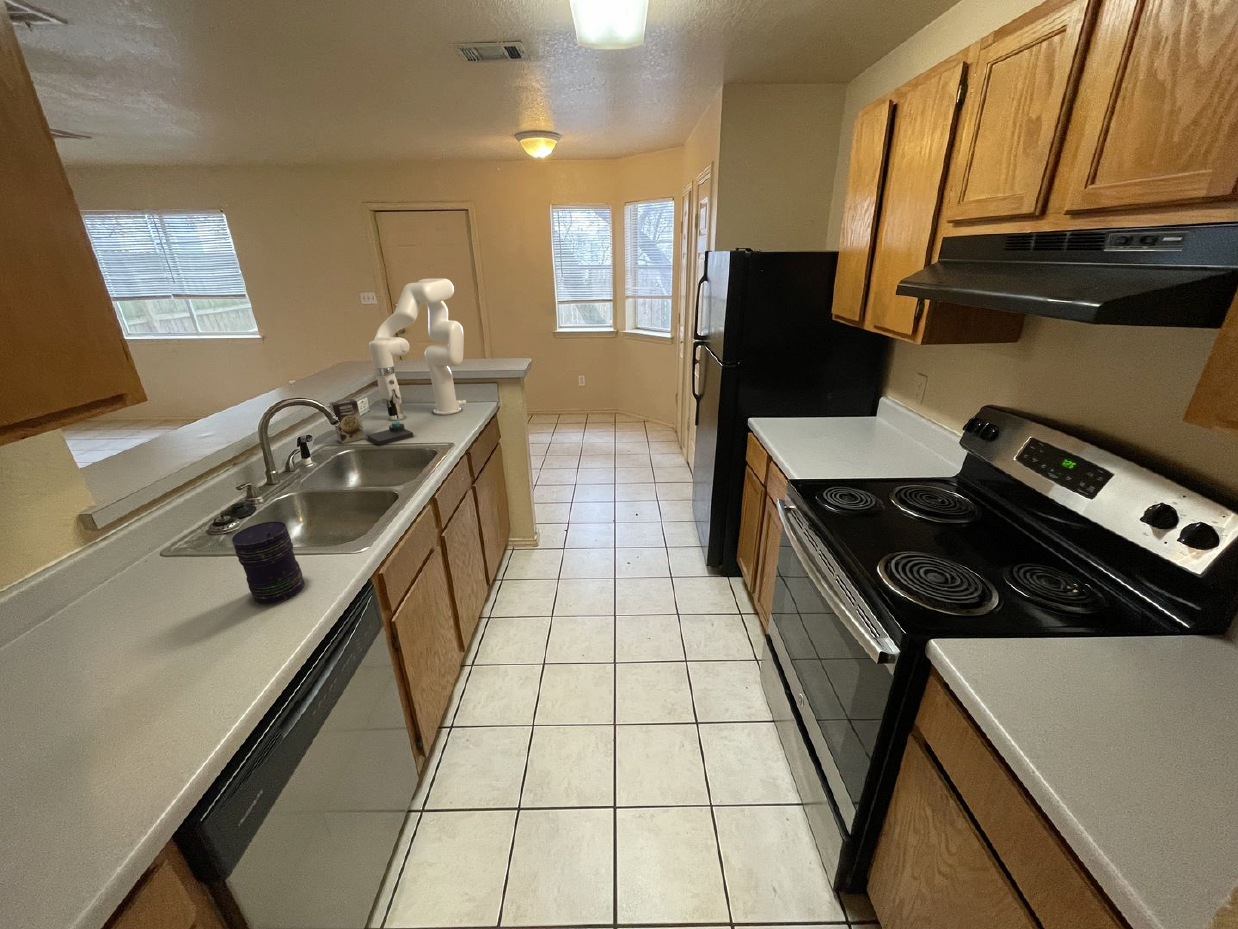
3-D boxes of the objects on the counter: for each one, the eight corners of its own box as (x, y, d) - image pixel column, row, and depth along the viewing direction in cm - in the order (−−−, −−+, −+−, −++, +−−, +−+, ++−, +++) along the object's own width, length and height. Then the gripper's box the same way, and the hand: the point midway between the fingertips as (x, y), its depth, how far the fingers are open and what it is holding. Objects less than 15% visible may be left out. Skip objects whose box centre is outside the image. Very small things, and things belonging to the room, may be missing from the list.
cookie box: (342, 444, 204) (332, 405, 198) (338, 440, 208) (328, 402, 202) (366, 438, 209) (357, 400, 203) (361, 435, 214) (352, 397, 208)
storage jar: (242, 599, 110) (219, 540, 104) (285, 574, 118) (265, 518, 112) (274, 609, 106) (252, 548, 100) (315, 583, 115) (297, 525, 109)
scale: (401, 430, 218) (400, 422, 217) (414, 436, 210) (413, 428, 209) (367, 439, 209) (365, 430, 207) (379, 445, 201) (377, 437, 199)
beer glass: (386, 420, 233) (379, 388, 227) (396, 415, 239) (390, 384, 234) (398, 421, 231) (392, 388, 226) (408, 416, 237) (402, 385, 232)
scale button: (398, 424, 215) (397, 421, 214) (401, 426, 213) (400, 422, 212) (391, 426, 213) (390, 423, 212) (394, 428, 211) (393, 424, 211)
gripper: (401, 372, 202) (409, 416, 208) (386, 368, 212) (394, 410, 218) (382, 375, 197) (391, 420, 203) (368, 370, 207) (377, 414, 213)
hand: (393, 415), depth 211 cm, fingers closed
